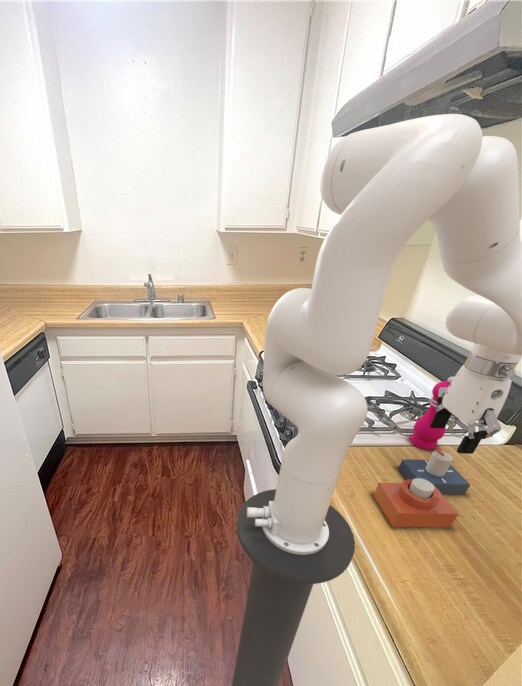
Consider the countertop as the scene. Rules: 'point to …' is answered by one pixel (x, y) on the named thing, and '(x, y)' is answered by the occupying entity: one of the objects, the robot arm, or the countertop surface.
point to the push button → (421, 488)
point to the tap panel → (445, 484)
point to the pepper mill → (429, 422)
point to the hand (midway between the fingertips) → (449, 439)
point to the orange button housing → (413, 506)
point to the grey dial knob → (439, 463)
